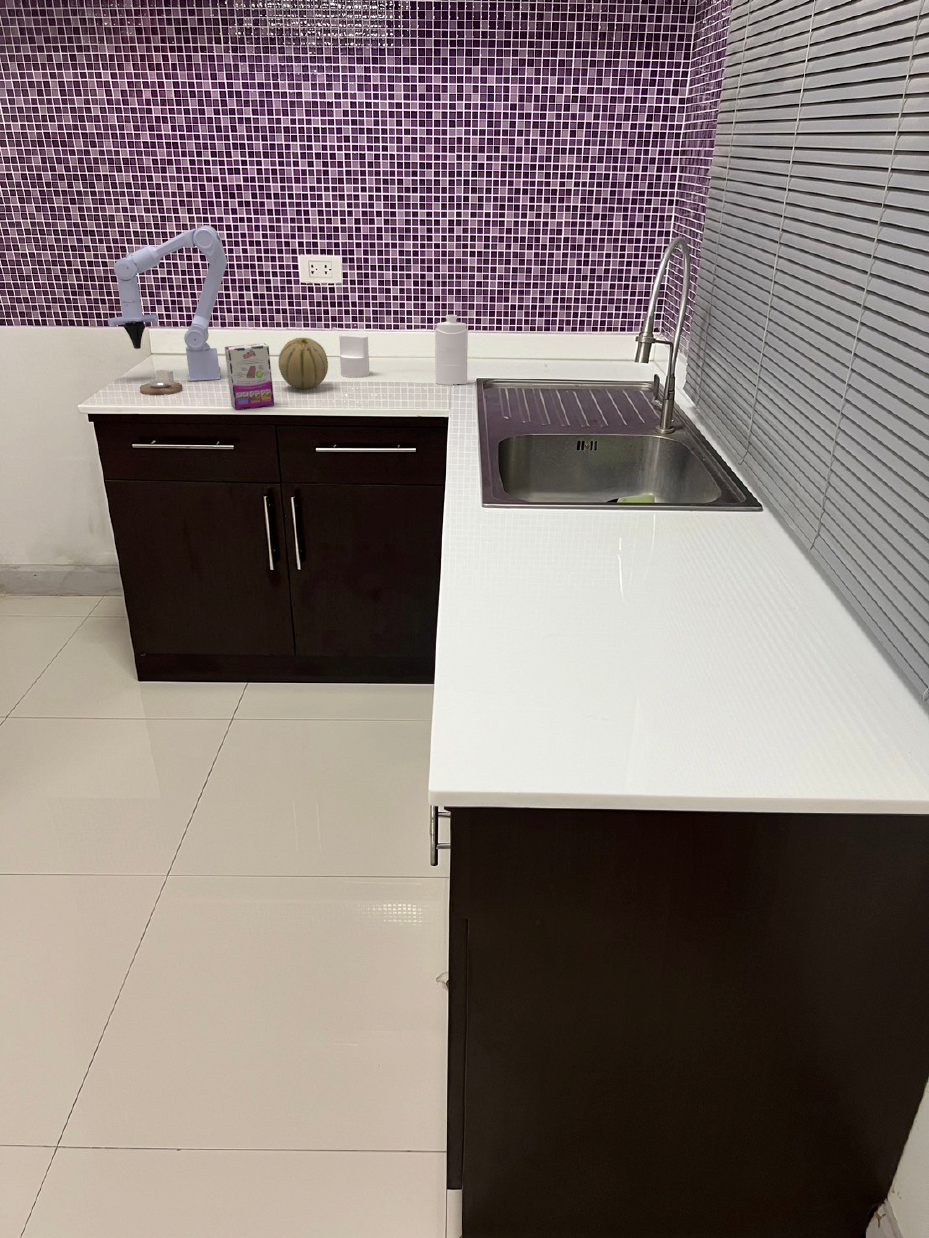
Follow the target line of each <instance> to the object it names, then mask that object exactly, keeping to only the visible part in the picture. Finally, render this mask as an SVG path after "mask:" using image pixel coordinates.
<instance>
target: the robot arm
mask: <svg viewBox="0 0 929 1238" xmlns="http://www.w3.org/2000/svg"><path fill="white" fill-rule="evenodd" d="M195 247H196V248H197V250H199V251H201V252H202V254H203V255H204V256H205V258H206V260H207V261H208V263H209V265H208V268H207V272H206V276H205V279H204V282H203V286H202V289H201V293H200V296H199V299H198V302H197V307H196V309H195V313H194V316H193V319H192V322H191V325H190V326H189V327H188V329H187V331H186V332H185V334H184V337H183V339H184V343H185V345H186V347H185V355H186V360H187V368H188V369H187V370H188V374H187V380H188V382H190V381H191V382H192V381H193V382H194V381H195V382H196V381H209V380H210V381H213V380H214V381H215V380H220V379H221V374H220V373H221V367H220V364H219V355H218V349H217V348H216V347H215V348H214V347H213V348H211V346H210V344H208V339H209V336H210V335H209V326H210V325H209V324H210V321H211V317H212V314H213V310H214V308H215V304H216V300H217V297H218V294H219V290H220V288H221V283H222V282H223V277H224V275H225V271H226V267H227V264H228V261H227V260H228V259H227V256H226V253H225V249H224V246H223V243H222V237H221V236H220V235H219V233H218V232H217V230H216V229H215V228H214V227H212V225H208V224H207V225H201V226H200V227H199V228H193V229H189V230H187V231H184V232H181V233H180V234H178V235H176V236H174V237H172V238H170V239H169V240H167V241H165V242H163V243H161V244H160V245H158V246H152V245H149V244H148V245H145V244H143V245H141V246H139V248H140V249H138V250H136V251H134V252H132V253H129V252H128V253H126V254H125V257H122V258H119V259H118V260H117V261H116V262H114V263H115V264H114V266H113V271H114V274H115V276H116V278H117V283H118V284H117V288H118V296H119V303H120V306H121V308H120V309H121V314H122V316H118V317H117V316H116V317H111V318H109V317H108V318H107V324H108V326H109V327H114V326H121V325H122V327H123V328H124V330H125V331H126V333H127V334H128V336H129V339H130V340H131V341H130V342H131V343H132V346H133V349H136V350H139V349H142V338H143V336H144V335H143V334H144V332H145V329H146V324H145V323H158V322H159V317H158V314H156V313H153V314H143V309H142V301H141V296H140V295H141V294H140V288H139V284H138V277H137V275H138V274H142V273H144V272H146V271H148V270H151V269H152V268H154V267H157V266H158V265H160V264H161V259H162V258H163V257H165V256H167V255H170V254H171V253H174V252H176V251H179V250H180V249H182V248H190V249H191V248H192V249H195Z"/></svg>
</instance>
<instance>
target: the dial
mask: <svg viewBox="0 0 929 1238" xmlns="http://www.w3.org/2000/svg"><path fill="white" fill-rule="evenodd" d="M156 377H157V378H156V380H151V381H150V382H149V383H150V387H152V388H165V387H170V386H171V384H174V382H175V378H174V371H173V370H166V369H157V370H156Z"/></svg>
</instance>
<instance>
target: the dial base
mask: <svg viewBox="0 0 929 1238" xmlns="http://www.w3.org/2000/svg"><path fill="white" fill-rule="evenodd" d="M182 389H184V388H183V384H182V383H180V382H175V381H174V384H171V386H170V387H165V388H152V387H150V382H149V383H146V384H142V385H140V386H139V392H140V394H143V395H146V394H150V395H149V396H165V395H164V394H168V395H173V394H177V393H181V392H182V391H183V390H182ZM180 391H181V392H180Z"/></svg>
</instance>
